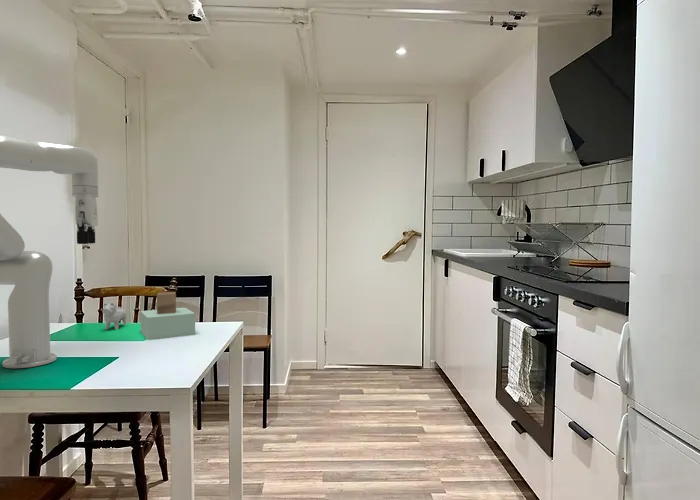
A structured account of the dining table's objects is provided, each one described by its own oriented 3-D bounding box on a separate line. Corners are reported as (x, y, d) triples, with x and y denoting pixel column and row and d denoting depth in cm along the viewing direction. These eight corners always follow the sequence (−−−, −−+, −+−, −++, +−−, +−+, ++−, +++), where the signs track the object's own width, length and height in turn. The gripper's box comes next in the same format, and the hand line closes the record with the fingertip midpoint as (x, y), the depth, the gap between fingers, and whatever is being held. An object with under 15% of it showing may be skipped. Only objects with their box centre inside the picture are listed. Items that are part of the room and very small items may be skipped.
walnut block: (174, 313, 166) (174, 293, 166) (157, 314, 165) (156, 294, 164) (176, 310, 172) (175, 292, 172) (158, 311, 170) (158, 292, 170)
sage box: (195, 335, 166) (195, 313, 166) (147, 340, 157) (147, 317, 157) (185, 327, 179) (185, 307, 179) (140, 332, 171) (140, 311, 171)
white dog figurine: (98, 331, 171) (97, 303, 170) (115, 325, 184) (114, 298, 183) (112, 331, 171) (112, 303, 171) (128, 325, 184) (128, 298, 183)
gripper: (92, 190, 145) (93, 244, 145) (103, 194, 161) (104, 243, 162) (64, 189, 142) (66, 244, 143) (79, 194, 159) (80, 243, 159)
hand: (86, 243), depth 152 cm, fingers open, 9 cm apart
